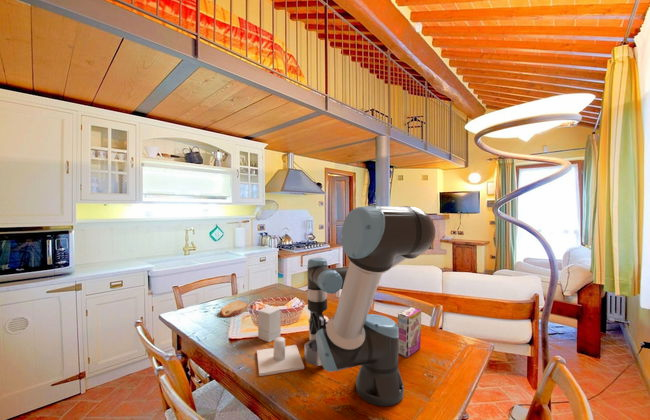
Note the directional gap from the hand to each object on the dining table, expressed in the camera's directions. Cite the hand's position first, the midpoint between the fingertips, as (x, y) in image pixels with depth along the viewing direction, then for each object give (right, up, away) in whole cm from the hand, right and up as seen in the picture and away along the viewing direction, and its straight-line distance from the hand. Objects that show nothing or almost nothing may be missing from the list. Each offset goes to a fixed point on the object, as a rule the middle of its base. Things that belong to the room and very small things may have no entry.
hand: (317, 357), depth 105 cm
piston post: (-15, -1, 0) cm, 15 cm away
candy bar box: (+37, -2, +8) cm, 38 cm away
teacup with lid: (+1, -1, +19) cm, 19 cm away
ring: (0, 0, 0) cm, 0 cm away
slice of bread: (-49, -1, +51) cm, 71 cm away
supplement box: (-22, -1, +19) cm, 29 cm away
